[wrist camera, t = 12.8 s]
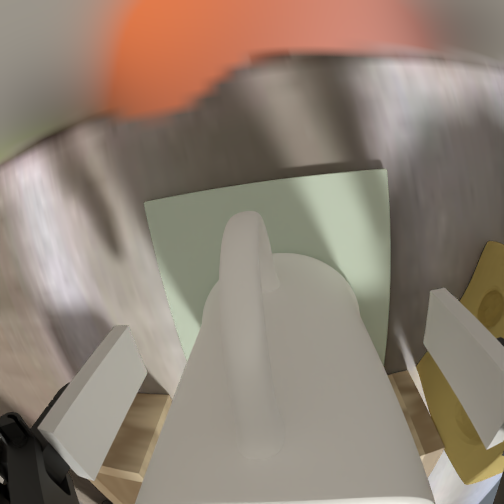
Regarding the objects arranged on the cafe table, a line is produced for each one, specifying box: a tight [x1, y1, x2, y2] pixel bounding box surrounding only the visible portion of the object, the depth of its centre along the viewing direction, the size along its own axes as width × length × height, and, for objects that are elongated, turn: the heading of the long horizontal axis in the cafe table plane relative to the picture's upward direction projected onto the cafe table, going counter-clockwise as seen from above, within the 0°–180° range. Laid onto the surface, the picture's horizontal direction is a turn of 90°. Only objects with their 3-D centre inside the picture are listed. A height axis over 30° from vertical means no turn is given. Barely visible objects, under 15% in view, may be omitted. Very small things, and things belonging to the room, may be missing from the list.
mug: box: [135, 211, 435, 504], centre depth 10 cm, size 12×8×12 cm
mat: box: [144, 169, 391, 367], centre depth 16 cm, size 12×12×1 cm
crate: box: [88, 370, 445, 504], centre depth 18 cm, size 22×20×7 cm
